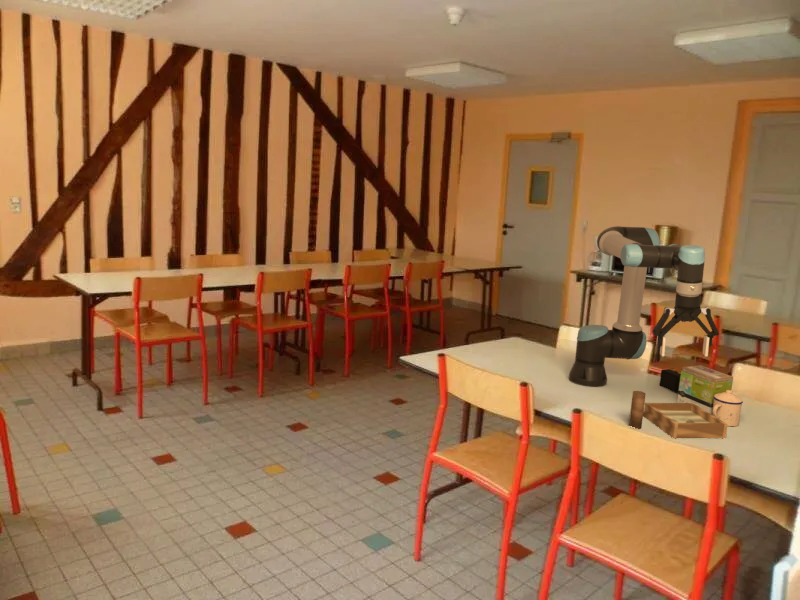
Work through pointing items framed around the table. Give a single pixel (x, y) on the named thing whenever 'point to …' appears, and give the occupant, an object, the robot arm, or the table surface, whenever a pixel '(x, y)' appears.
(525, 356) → the table surface
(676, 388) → the digital camera
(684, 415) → the oak box
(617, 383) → the table surface
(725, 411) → the teacup with lid
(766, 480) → the table surface
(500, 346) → the table surface
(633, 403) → the walnut dowel
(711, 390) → the tea box
